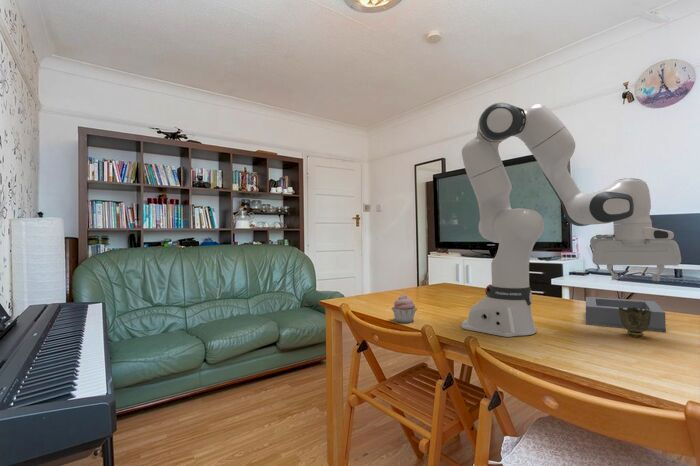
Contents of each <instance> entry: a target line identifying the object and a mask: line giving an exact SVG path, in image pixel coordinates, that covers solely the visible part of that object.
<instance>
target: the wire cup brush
mask: <svg viewBox="0 0 700 466" xmlns="http://www.w3.org/2000/svg"><path fill="white" fill-rule="evenodd" d="M619 314H620V320H621V323H622V326H623V327H624V328H623V329H625V330H626V331H627V332H626V333H627V335H628V336H630V337H632V338H633V337H634V338H642V337H643V336H644V332H646V331H648V330H647V329H648V328H649V324H650V317H651V311H649V310H646V309H645V310H644V311H643V310H642V309H641V308H640V309H637V308H635V307H633V308H630V307H627V310H626V309H625V310H624V309H623V307H622V308H621V307H619Z"/></svg>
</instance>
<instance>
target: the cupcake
mask: <svg viewBox="0 0 700 466" xmlns="http://www.w3.org/2000/svg"><path fill="white" fill-rule="evenodd" d="M393 305H394V306H393V307H391V311H392V312H393V315H394V316H393V317H394V319H395V320H394V321H396V322H397V323H399V324H400V323H401V324H409V323H413V322H414V318H415V314H416V312H417V310H418V308H417V307H416V305H415V302H413V299H411V298H410V297H409V296H407V295H406V293H404V294H402V295H400V296H399V297H398V298H397V300H395V301H394V303H393Z"/></svg>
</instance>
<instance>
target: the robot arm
mask: <svg viewBox="0 0 700 466" xmlns="http://www.w3.org/2000/svg"><path fill="white" fill-rule="evenodd" d="M511 137H516V138H518V139H519V140H521V141H522V142H523V143H524V145H525V146H526V147H527V149H528V150H529V152H530V153H531V154H532V156H533V157H534V158H535V160H536V162H537V163H538V165H539V167H540V169H541V171H542V174H543V176H544V178H545V180H546V181H547V182H548V184H549V186H550V187H551V188H552V191H553V192H554V194H555V195H556V196H557V198H558V200H559V202H560V203H561V209H562V212H563V215H564V217H565V219H566V220H567V222H568V223H569V224H571V225H573V226H576V227H585V226H590V225H592V226H593V225H603V224H605V225H606V224H611V223H613V233H611V234H596V235H595V236H594V235H593V236H592V237H591V238H590V241H589V244H590V248H591V249H592V256H591V257H592V264H594V265H596V266H604V265H605V266H606V269H607V271H608V272H609V273H610V274H611V280H612V281H618V280H619V277H618V275H619V274H618V273H615V272H614V271H613V270H612V269H614V267H613V266H656V269H658V270H657V272H656V273H655V274H653V273H652V274H651V279H652V282H660V281H661V278H660V276H661V275H662V274H663V272H664V271H665V266H679V265H680V264H681V263H682V256H681V255H682V254H681V250H680V247H679V244H678V243H677V242H676V240H674V237H675V235H674V232H673V231H671V230H668V229H667V230H666V229H661V228H660V227H658V228H657V227H653V223H652V219H651V215H650V212H651V209H652V205H651V203H652V202H651V193H650V189H649V186H648V184H647V182H646V181H645V180H642V179H640V178H621V179H617V180H614V182H613V183H611V184H610V185H609V186H607V187H605V188H603V189H601V190H598V191H596V192H592V193H591V192H590V193H585V192H583V191H582V190H580V188H579V187H578V185H577V182H575V180H574V178H573V177H572V176H571V174H570V172H569V169H568V168H569V167H568V165H569V163H570V162H569V161H570V160H571V159H572V157H573V155H574V152H575V150H576V141H575V139H574V137H573V135H572V133H571V132H570V130H569V129H568V127H567V126H566V125H565V124H564V123H563V122H562V120H561V118H559V117H558V116H557V115H556V114H555V113H554V112H553V111H552V110H550V108H548V107H547V106H546V105H544V104H543V103H534V104H531V105H529V106H527V107H525V108H524V109H523V108H521V107H518V106H515V105H512V104H510V103H507V102H496V103H493V104H491V105H489V106H488V107H486V108H485V109H484V111H483V112H482V113H481V115H480V116H479V119H478V123H477V132H476V137H474V138H472V139H470V140H468V141H467V142H466V143H465V144H464V146H463V147H462V149H461V157H462V161H463V166H464V170H465V173H466V175H467V177H468V181H469V183H470V185H471V187H472V189H473V192H474V195H475V197H476V200H477V205H478V210H479V221H478V232H479V234H480V236H481V237H482V238H483V239H485V240H487V241H489V242H492V243H494V244H495V243H497V244H498V249H497V252H496V254H495V257H493V259H492V261H491V264H490V265H491V267H490V269H491V270H490V271H491V284H488V285H487V286H486V287H485V289H484V290H485V291H484V292H485V297H483V298H481V299H480V300H479V301H477V302H476V303H475V304H474V305H472V306H471V307H470V310H469V312H468V317H467V319H464V320H462V322H461V325H460V326H461V328H462V329H463V330H466V331H473V332H478V333H484V334H488V335H494V336H500V337H506V338H511V337H512V338H513V337H517V336H530V335H534V334H535V333H537V329H536V326H535V322H534V319H533V313H532V306H531V305H532V302H533V299H532V296H533V295H532V287H531V286H530V261H531V255H532V252H533V249H534V246H535V245H536V243H537V240H539V239H540V237H541V236H542V235H543V233H544V230H545V221H544V217H542V215H541V213H539V212H538V211H536V210H534V209H528V208H524V207H516V208H512V206H511V200H510V195H511V192H512V189H513V185H512V182H511V179H510V178H509V175H508V173H507V170H506V168H505V166H504V164H503V160H502V159H501V156H500V152H499V145H500V143H502V142H503V141H505V140H507V139H508V138H511Z"/></svg>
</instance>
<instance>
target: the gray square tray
mask: <svg viewBox="0 0 700 466" xmlns="http://www.w3.org/2000/svg"><path fill="white" fill-rule="evenodd" d="M619 307H621V308H622V307H623V309H624V310H625V309H626V310H627V307H630V308H633V307H635V308H637V309H640V308H641V309H642V310H643V311H644V310H645V309H646V310H649V311H651V317H650V324H649V328H648V329H647V330H646V331H649V332H660V333H667V330H666V329H667V328H666V326H667V323H666V311H664V310H663V309H662V308H661V306H660V305H659V304H658V303H657V302H656V301H655V300H640V299H628V298H627V299H626V298H624V299H623V298H609V297H596V296H595V297H593V296H585V322H586V325H589V326H590V325H591V326H598V327H599V326H602V327H611V328H622V329H625V328H624V327H623V326H622V323H621V320H620V314H619Z"/></svg>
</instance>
